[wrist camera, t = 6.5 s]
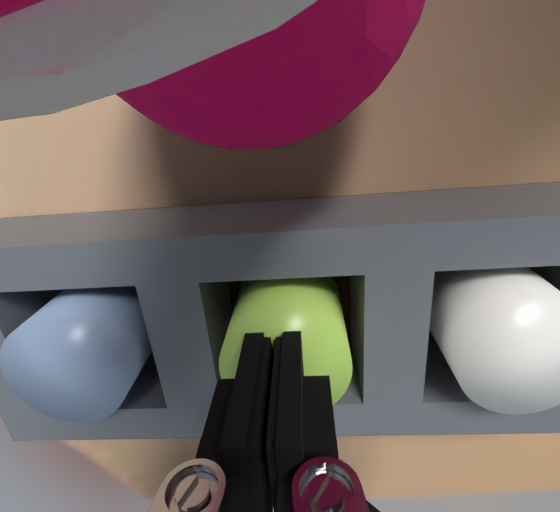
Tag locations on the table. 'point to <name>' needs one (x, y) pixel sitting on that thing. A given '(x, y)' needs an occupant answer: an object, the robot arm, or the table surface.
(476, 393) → the white rounded piece
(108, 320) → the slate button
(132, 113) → the table surface
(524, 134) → the table surface
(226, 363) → the lime button
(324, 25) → the pepper mill
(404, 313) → the panel
